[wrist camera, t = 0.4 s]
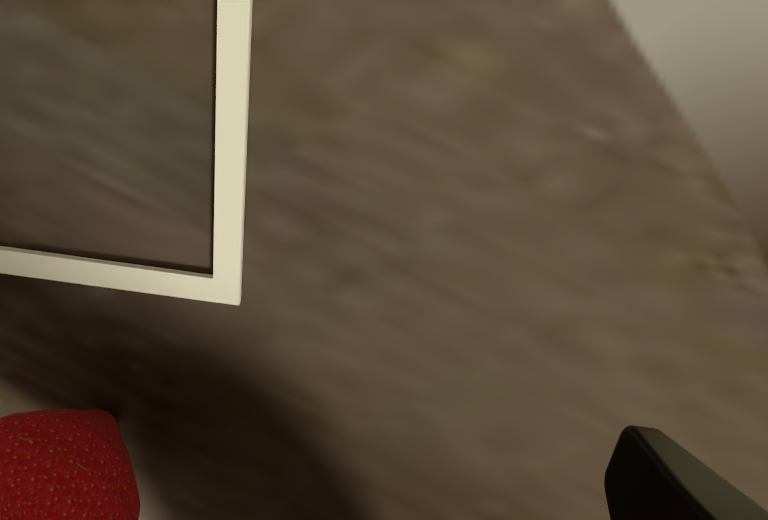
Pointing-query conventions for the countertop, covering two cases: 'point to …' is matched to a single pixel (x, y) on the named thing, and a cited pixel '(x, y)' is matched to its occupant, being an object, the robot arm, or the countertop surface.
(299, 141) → the countertop surface
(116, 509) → the strawberry
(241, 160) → the print frame
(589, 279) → the countertop surface
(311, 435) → the countertop surface
